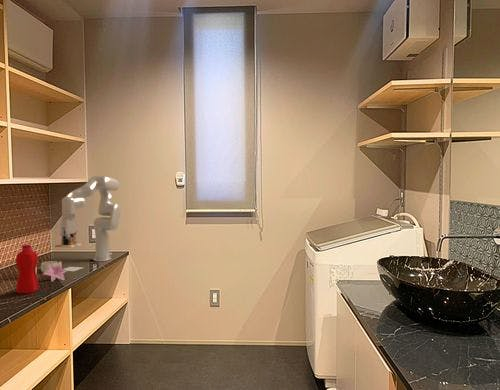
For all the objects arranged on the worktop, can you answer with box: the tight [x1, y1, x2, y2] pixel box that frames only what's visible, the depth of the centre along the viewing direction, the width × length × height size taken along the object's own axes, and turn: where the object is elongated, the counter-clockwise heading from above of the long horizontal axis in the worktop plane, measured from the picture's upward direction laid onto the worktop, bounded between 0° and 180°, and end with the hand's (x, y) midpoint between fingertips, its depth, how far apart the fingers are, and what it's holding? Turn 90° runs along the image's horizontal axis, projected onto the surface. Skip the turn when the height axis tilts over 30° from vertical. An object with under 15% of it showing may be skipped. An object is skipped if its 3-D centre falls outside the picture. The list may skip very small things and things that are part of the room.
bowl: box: [40, 260, 58, 273], centre depth 257 cm, size 9×9×6 cm
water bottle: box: [15, 244, 39, 295], centre depth 211 cm, size 9×11×25 cm
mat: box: [64, 266, 83, 272], centre depth 261 cm, size 11×11×1 cm
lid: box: [54, 236, 84, 248], centre depth 259 cm, size 12×12×5 cm
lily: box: [42, 261, 68, 282], centre depth 237 cm, size 12×12×10 cm
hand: (69, 243), depth 260 cm, fingers closed on lid, 5 cm apart
